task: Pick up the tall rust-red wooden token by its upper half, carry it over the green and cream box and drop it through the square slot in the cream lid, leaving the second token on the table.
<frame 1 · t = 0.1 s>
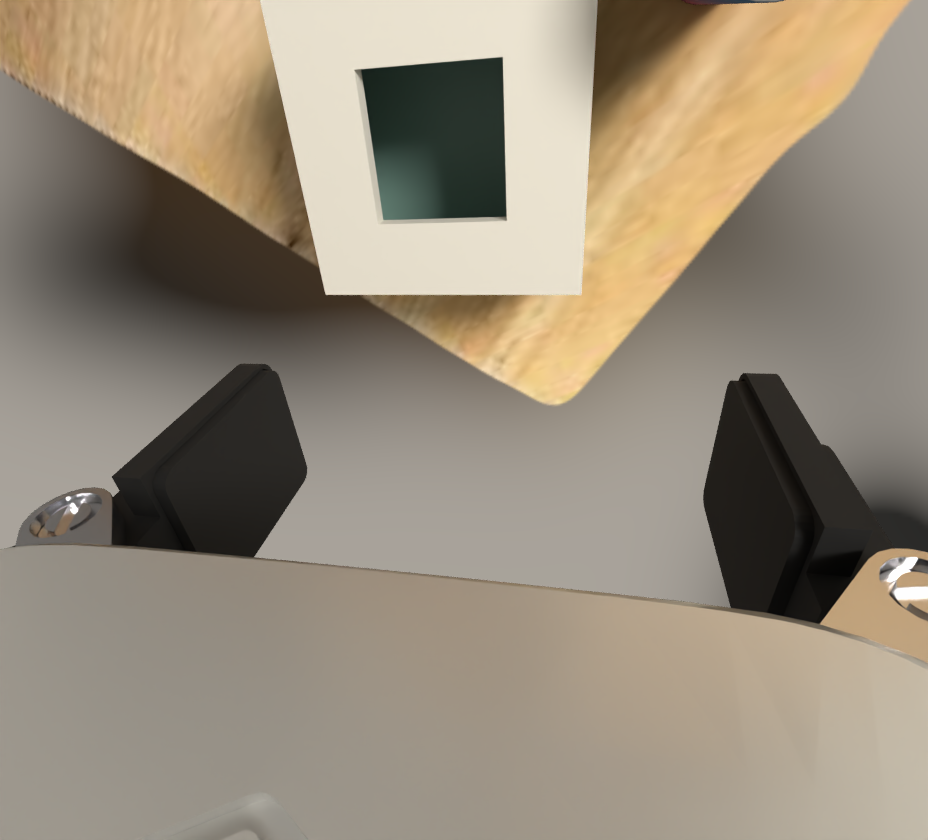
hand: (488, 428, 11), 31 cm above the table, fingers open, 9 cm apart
green and cream box: (468, 128, 36), on the table
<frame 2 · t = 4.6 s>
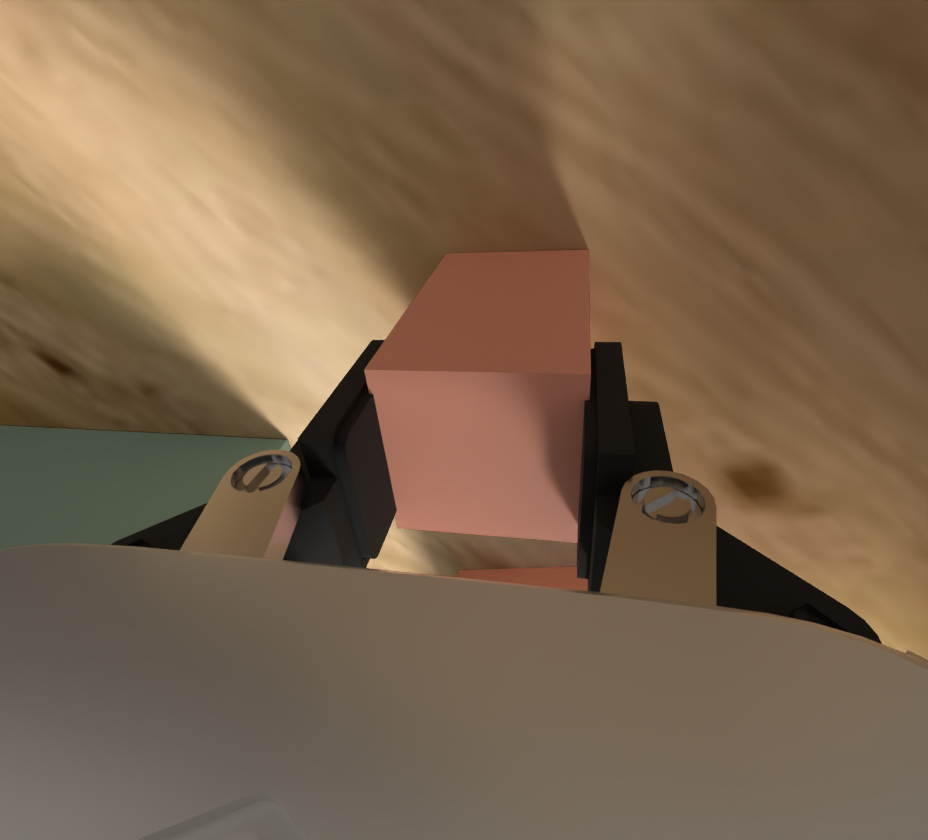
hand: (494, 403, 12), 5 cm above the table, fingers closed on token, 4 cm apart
green and cream box: (183, 561, 26), on the table
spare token: (547, 595, 23), on the table
token: (517, 318, 16), on the table, touching gripper
when the fingers open (16 cm above the table, at t = 13.2 s): token drops 9 cm and tips over, resting on green and cream box.
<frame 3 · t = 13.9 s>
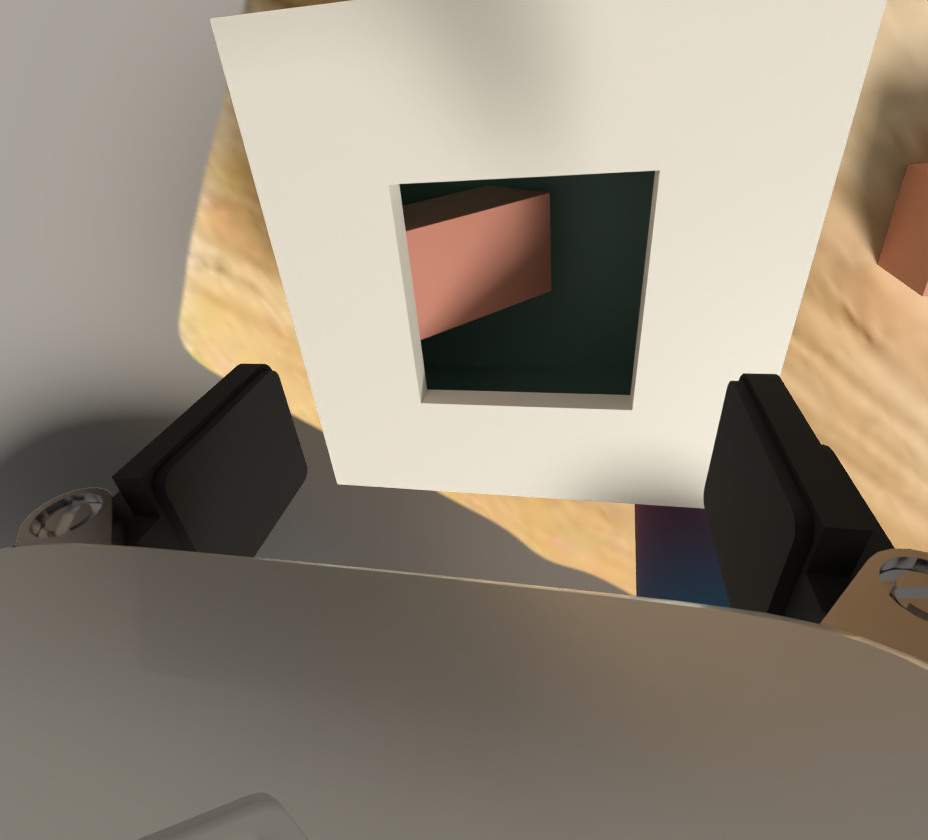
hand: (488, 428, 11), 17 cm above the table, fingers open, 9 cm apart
green and cream box: (541, 225, 25), on the table
cup: (678, 465, 31), on the table
token: (519, 237, 23), point 2 cm above the table, tilted 44°, touching green and cream box
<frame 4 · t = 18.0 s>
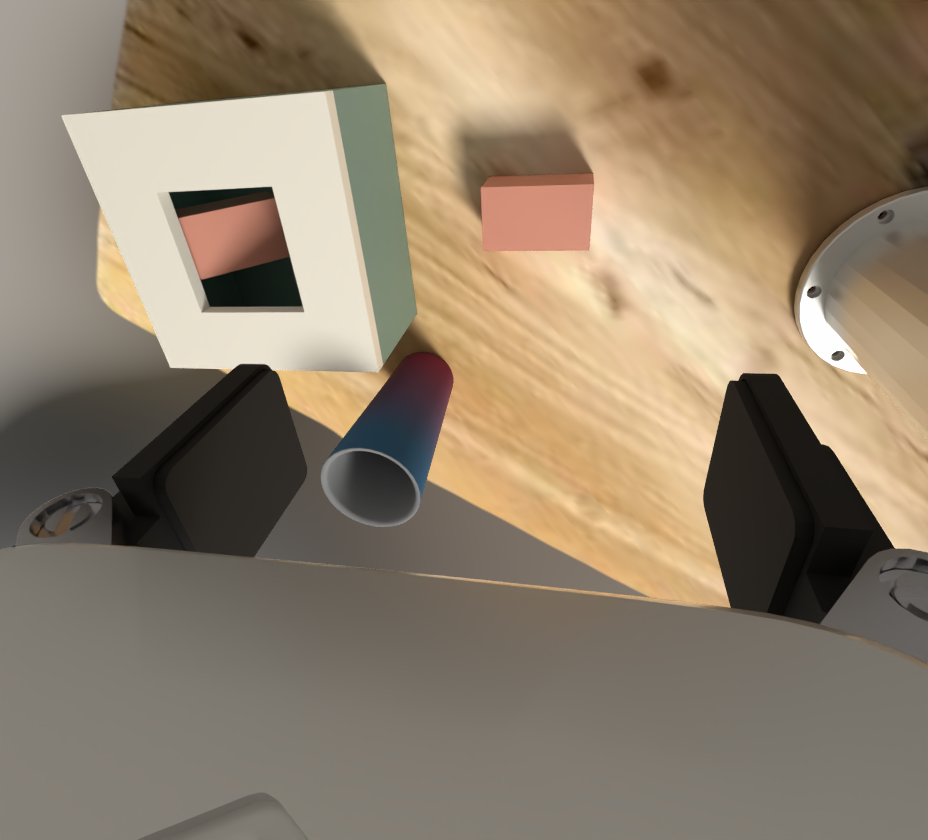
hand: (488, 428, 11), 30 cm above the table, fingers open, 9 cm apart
green and cream box: (303, 215, 41), on the table
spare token: (539, 205, 37), on the table
cup: (426, 376, 47), on the table
token: (281, 222, 39), point 2 cm above the table, tilted 44°, touching green and cream box
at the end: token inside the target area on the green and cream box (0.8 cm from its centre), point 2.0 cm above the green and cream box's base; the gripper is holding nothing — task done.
